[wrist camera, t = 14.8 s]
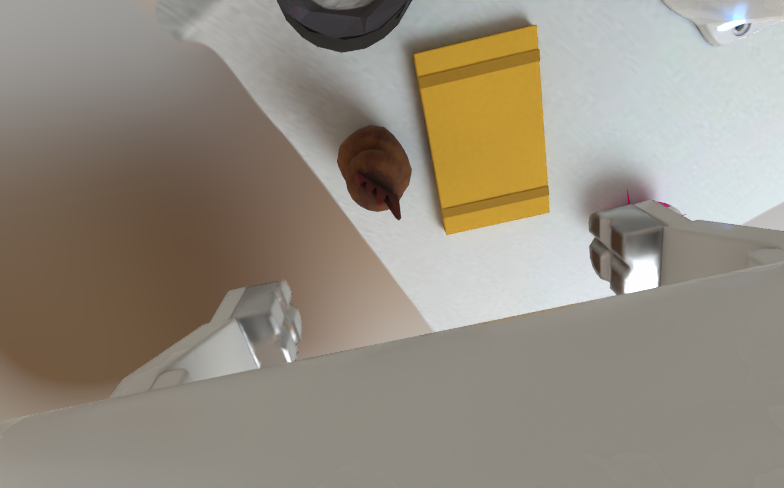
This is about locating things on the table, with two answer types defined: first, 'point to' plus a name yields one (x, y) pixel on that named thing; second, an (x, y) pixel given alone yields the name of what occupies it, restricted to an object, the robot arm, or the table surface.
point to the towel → (485, 128)
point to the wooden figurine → (375, 169)
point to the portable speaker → (343, 21)
